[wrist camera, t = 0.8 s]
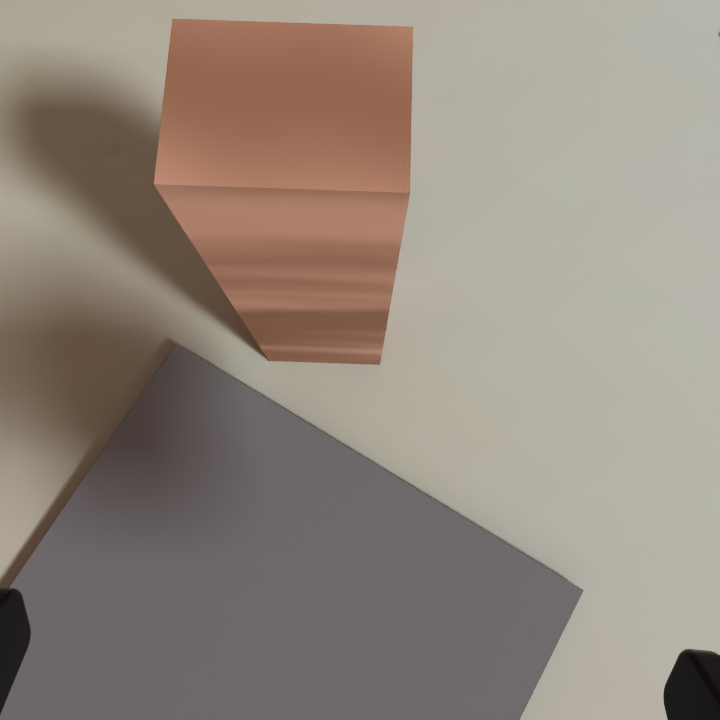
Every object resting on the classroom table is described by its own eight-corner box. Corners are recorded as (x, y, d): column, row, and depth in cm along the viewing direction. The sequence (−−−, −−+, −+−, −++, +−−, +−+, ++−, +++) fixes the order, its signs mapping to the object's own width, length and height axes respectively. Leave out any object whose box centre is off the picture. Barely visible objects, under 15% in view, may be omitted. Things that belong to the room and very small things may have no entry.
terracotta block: (379, 364, 22) (410, 193, 10) (268, 360, 22) (153, 183, 10) (382, 285, 23) (412, 27, 10) (273, 281, 23) (172, 19, 10)
